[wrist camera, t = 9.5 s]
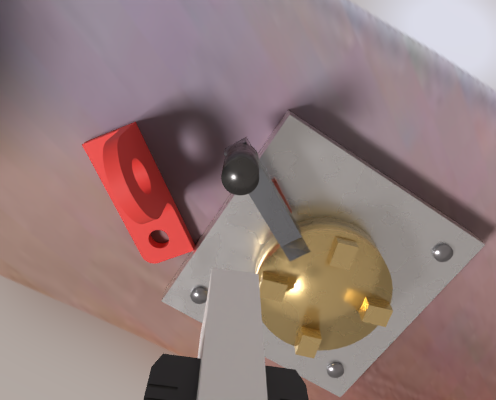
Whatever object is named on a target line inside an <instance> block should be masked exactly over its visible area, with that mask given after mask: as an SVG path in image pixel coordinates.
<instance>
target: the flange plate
mask: <svg viewBox="0 0 496 400" xmlns="http://www.w3.org/2000/svg"><path fill="white" fill-rule="evenodd" d="M258 157H259V159H260V161H261V163H262V165H263V166H264V168H265V170H266V171H267V173H268V175H269V176H270V178H271V180H272V182H273V183H274V185H275V187H276V188H277V190H278V192H279V194H280V195H281V197H282V199H283V200H284V202H285V204H286V205H287V207H288V209H289V211H290V212H291V214H292V216H293V217H294V219H295V221H296V222H297V221H300V220H304V219H309V218H316V217H327V218H335V219H340V220H343V221H346V222H349V223H351V224H353V225H355V226H357V227H358V228H360V229H361V230H363V231H364V232H365V233H366V234H367V235H368V236H369V237H370V238H371V239H372V240H373V241H374V243H375V245H376V246H377V248H378V250H379V252H380V254H381V255H382V257H383V259H384V261H385V263H386V265H387V267H388V269H389V272H390V275H391V279H392V286H393V291H392V299H391V304H390V305H391V307H392V309H393V313H392V315H391V317H390V319H389V321H388V323H387V326H386V327H383V326H379V325H378V326H377V327H376V328H375V329H374V330H373V331H372V332H371V333H370V334H368V335H367V336H366V337H364V338H363V339H361V340H359V341H357V342H355V343H353V344H351V345H348V346H346V347H342V348H338V349H333V350H322V351H318V350H317V353H316V355H315V357H314V359H313V358H309V357H305V356H300V355H296V354H295V347H294V346H293V345H290V344H288V343H286V342H284V341H282V340H281V339H279V338H278V337H276V336H275V335H274V334H273V333H272V332H271V331H270V330H269V329H268V328H267V327H266V326H265V324H264V323H263V321H262V329H263V343H264V357H266V358H268V359H270V360H272V361H274V362H276V363H277V364H279V365H281V366H283V367H285V368H287V369H295V370H296V371H297V372H298V374H299V375H300V376H302V377H303V378H305V379H307V380H309V381H311V382H313V383H315V384H316V385H318V386H320V387H322V388H324V389H326V390H328V391H329V392H331V393H333V394H335V395H337V396H339V397H341V396H342V395H343V394H344V393H345V392H346V391H347V390H348V389H349V388H350V386H351V385H352V384H353V383H354V382H355V381H356V380H357V379H358V378H359V377H360V376H361V375H362V374H363V373H364V372H365V371H366V370H367V369H368V367H369V366H370V365H371V364H372V363H373V362H374V361H375V360H376V359H377V358H378V357H379V356H380V355H381V354H382V353H383V352H384V351H385V350H386V349H387V347H388V346H389V345H390V344H391V343H392V342H393V341H394V340H395V339H396V338H397V337H398V336H399V335H400V334H401V333H402V332H403V331H404V330H405V329H406V327H407V326H408V325H409V324H410V323H411V322H412V321H413V320H414V319H415V318H416V317H417V316H418V315H419V314H420V313H421V312H422V311H423V310H424V308H425V307H426V306H427V305H428V304H429V303H430V302H431V301H432V300H433V299H434V298H435V297H436V296H437V295H438V294H439V293H440V292H441V291H442V290H443V288H444V287H445V286H446V285H447V284H448V283H449V282H450V281H451V280H452V279H453V278H454V277H455V276H456V275H457V274H458V273H459V272H460V271H461V269H462V268H463V267H464V266H465V265H466V264H467V263H468V262H469V261H470V260H471V259H472V258H473V257H474V256H475V255H476V254H477V253H478V252H479V251H480V249H481V248H482V247H483V246H484V245H485V244H484V243H483V242H482V241H481V240H480V239H479V238H478V237H477V236H476V235H475V234H473V233H472V232H470V231H469V230H467V229H466V228H464V227H463V226H461V225H460V224H458V223H457V222H455V221H454V220H452V219H451V218H449V217H448V216H446V215H445V214H443V213H442V212H440V211H439V210H437V209H436V208H434V207H433V206H431V205H430V204H428V203H427V202H425V201H424V200H422V199H421V198H419V197H418V196H416V195H415V194H413V193H412V192H410V191H409V190H407V189H406V188H404V187H403V186H401V185H400V184H398V183H397V182H395V181H394V180H392V179H391V178H389V177H388V176H386V175H385V174H383V173H382V172H380V171H379V170H377V169H376V168H374V167H373V166H371V165H370V164H368V163H367V162H365V161H364V160H362V159H361V158H359V157H358V156H356V155H355V154H354V153H352V152H351V151H349V150H348V149H346V148H345V147H343V146H342V145H340V144H339V143H337V142H336V141H334V140H333V139H331V138H330V137H328V136H327V135H325V134H324V133H322V132H321V131H319V130H318V129H316V128H315V127H313V126H312V125H310V124H309V123H307V122H306V121H304V120H303V119H301V118H300V117H298V116H297V115H295V114H294V113H292V112H291V111H289V110H288V111H287V112H286V113H285V115H284V116H283V118H282V119H281V121H280V122H279V124H278V125H277V127H276V128H275V130H274V131H273V132H272V134H271V135H270V137H269V138H268V140H267V141H266V143H265V144H264V146H263V147H262V149H261V150H260V151H259V153H258ZM273 236H274V235H273V233H272V231H271V230H270V228H269V227H268V225H267V223H266V222H265V220H264V218H263V217H262V215H261V214H260V212H259V210H258V209H257V207H256V205H255V204H254V202H253V200H252V199H251V197H250V196H249V194H247V195H234V194H232V193H231V194H230V195H229V197H228V198H227V200H226V201H225V203H224V204H223V206H222V207H221V208H220V210H219V211H218V213H217V214H216V216H215V217H214V219H213V220H212V222H211V223H210V225H209V226H208V227H207V229H206V230H205V232H204V233H203V235H202V236H201V238H200V239H199V241H198V242H197V244H196V245H195V248H194V251H191V252H190V254H189V255H188V257H187V258H186V260H185V261H184V262H183V264H182V265H181V267H180V268H179V270H178V271H177V273H176V274H175V276H174V277H173V279H172V280H171V281H170V283H169V284H168V286H167V287H166V289H165V292H164V295H163V298H162V302H164V303H166V304H168V305H170V306H171V307H173V308H175V309H177V310H179V311H181V312H183V313H184V314H186V315H188V316H190V317H192V318H194V319H196V320H197V321H199V322H201V323H203V318H204V312H205V306H206V300H207V294H208V288H209V283H210V277H211V271H212V267H214V268H221V269H227V270H234V271H241V272H248V273H255V267H256V263H257V260H258V257H259V255H260V252H261V251H262V249H263V247H264V246H265V244H266V243H267V242H268V241H269V240H270V239H271V238H272V237H273Z"/></svg>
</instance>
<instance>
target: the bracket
mask: <svg viewBox="0 0 496 400" xmlns="http://www.w3.org/2000/svg"><path fill="white" fill-rule="evenodd" d="M82 146H83V147H84V149H85V151H86V153H87V155H88V157H89V159H90V160H91V162H92V164H93V166H94V168H95V170H96V172H97V173H98V175H99V177H100V179H101V181H102V183H103V185H104V187H105V188H106V190H107V192H108V194H109V196H110V198H111V200H112V201H113V203H114V205H115V207H116V209H117V211H118V213H119V215H120V216H121V218H122V220H123V222H124V224H125V226H126V228H127V229H128V231H129V233H130V235H131V237H132V239H133V241H134V242H135V244H136V246H137V248H138V250H139V252H140V254H141V256H142V257H143V259H144V260H146V261H147V262H149V263H159V262H162V261H165V260H168V259H171V258H174V257H177V256H179V255H182V254H185V253H188V252H191V251H194V248H195V244H194V242H193V240H192V238H191V236H190V233H189V231H188V229H187V227H186V225H185V223H184V221H183V219H182V217H181V215H180V213H179V211H178V209H177V207H176V205H175V202H174V200H173V198H172V196H171V194H170V192H169V190H168V188H167V186H166V184H165V182H164V180H163V178H162V176H161V174H160V171H159V169H158V167H157V165H156V163H155V161H154V159H153V157H152V155H151V153H150V151H149V149H148V147H147V145H146V143H145V140H144V138H143V136H142V134H141V132H140V130H139V128H138V126H137V124H136V122H134V123H131V124H129V125H126V126H124V127H121V128H119V129H116V130H114V131H111V132H109V133H106V134H104V135H101V136H99V137H96V138H94V139H91V140H89V141H86V142H85V143H84V144H82ZM154 230H162V231H164V232H166V233H167V235H168V236H169V241H168V242H166V243H158V242H156V241H154V240H153V238H152V237H151V232H152V231H154Z"/></svg>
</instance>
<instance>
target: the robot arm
mask: <svg viewBox="0 0 496 400" xmlns="http://www.w3.org/2000/svg"><path fill="white" fill-rule="evenodd" d="M144 400H308V394H307V389H306V385H305V383H304V382H303V380H302V378H301V377H300V375H299V374H298V372H297V371H296V370H295V369H287V368H279V367H271V366H265V357H264V343H263V329H262V315H261V302H260V288H259V274H255V273H248V272H241V271H234V270H227V269H221V268H214V267H212V271H211V277H210V283H209V288H208V294H207V300H206V306H205V312H204V318H203V324H202V329H201V335H200V343H199V351H198V358H192V357H184V356H176V355H169V354H163V355H162V356H161V357H160V358H159V359H158V360H157V361H156V362H155V364H154V365H153V366H152V367H151V371H150V375H149V379H148V383H147V387H146V392H145V396H144Z"/></svg>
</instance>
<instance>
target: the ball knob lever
mask: <svg viewBox="0 0 496 400" xmlns="http://www.w3.org/2000/svg"><path fill="white" fill-rule="evenodd" d="M224 155H225V161H224V166H223V170H222V176H221V179H222V183H223V185H224V187H225V189H226V190H227V191H229V192H230V193H232V194H234V195H247V194H249V196H250V197H251V199H252V200H253V202H254V204H255V205H256V207H257V209H258V210H259V212H260V214H261V215H262V217H263V218H264V220H265V222H266V223H267V225H268V227H269V228H270V230H271V231H272V233H273V235H274V236H273V237H272V238H271V239H270V240H269V241H268V242H267V243H266V244H265V246H264V247H263V249H262V251H261V252H260V255H259V257H258V260H257V263H256V267H255V274H259V288H260V302H261V315H262V321H263V323H264V324H265V326H266V327H267V328H268V329H269V330H270V331H271V332H272V333H273V334H274V335H275V336H276V337H278V338H279V339H281V340H282V341H284V342H286V343H288V344H290V345H293V346H294V347H295V354H296V355H300V356H305V357H309V358H313V359H314V357H315V355H316V353H317V350H318V351H322V350H333V349H338V348H342V347H346V346H348V345H351V344H353V343H355V342H357V341H359V340H361V339H363V338H364V337H366V336H367V335H368V334H370V333H371V332H372V331H373V330H374V329H375V328H376V327H377V326H378V325H379V326H383V327H386V326H387V323H388V321H389V319H390V317H391V315H392V313H393V309H392V307H391V305H390V304H391V299H392V291H393V286H392V279H391V275H390V272H389V269H388V267H387V265H386V263H385V261H384V259H383V257H382V255H381V254H380V252H379V250H378V248H377V246H376V245H375V243H374V241H373V240H372V239H371V238H370V237H369V236H368V235H367V234H366V233H365V232H364V231H363V230H361V229H360V228H358V227H357V226H355V225H353V224H351V223H349V222H346V221H343V220H340V219H335V218H327V217H316V218H309V219H304V220H300V221H297V222H296V221H295V219H294V217H293V216H292V214H291V212H290V211H289V209H288V207H287V205H286V204H285V202H284V200H283V199H282V197H281V195H280V194H279V192H278V190H277V188H276V187H275V185H274V183H273V182H272V180H271V178H270V176H269V175H268V173H267V171H266V170H265V168H264V166H263V165H262V163H261V161H260V159H259V157H258V153H257V151H256V150H255V149H254V148H253V147H252V146H251V144H250V142H249V141H248V139H247V137H245V138H243V139H241V140H240V141H238V142H236V143H234V144H233V145H231V146H229V147H227V148H225V151H224Z"/></svg>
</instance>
